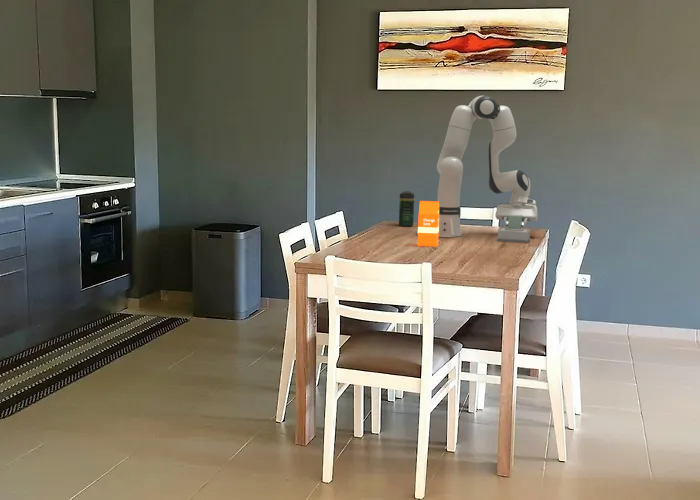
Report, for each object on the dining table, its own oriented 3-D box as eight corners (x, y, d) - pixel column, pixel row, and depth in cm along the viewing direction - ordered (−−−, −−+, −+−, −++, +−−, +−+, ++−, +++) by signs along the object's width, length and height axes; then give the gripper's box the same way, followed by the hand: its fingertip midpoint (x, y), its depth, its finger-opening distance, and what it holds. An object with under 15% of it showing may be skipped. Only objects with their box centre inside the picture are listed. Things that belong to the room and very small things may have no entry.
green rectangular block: (508, 237, 379) (509, 214, 377) (521, 237, 377) (522, 215, 375) (507, 238, 376) (508, 215, 374) (519, 238, 374) (521, 216, 372)
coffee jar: (413, 227, 410) (414, 192, 407) (398, 226, 411) (399, 191, 408) (413, 224, 419) (414, 190, 416) (399, 224, 420) (399, 190, 417)
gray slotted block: (497, 241, 366) (497, 230, 365) (500, 238, 375) (501, 227, 374) (527, 243, 361) (527, 232, 360) (529, 240, 370) (530, 229, 369)
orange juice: (436, 246, 348) (438, 202, 345) (417, 245, 350) (418, 201, 347) (438, 243, 356) (439, 200, 352) (419, 242, 358) (420, 200, 354)
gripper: (496, 199, 383) (492, 220, 376) (538, 201, 376) (535, 223, 369) (498, 207, 388) (493, 228, 380) (539, 209, 381) (536, 231, 373)
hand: (514, 226), depth 374 cm, fingers closed on green rectangular block, 6 cm apart
